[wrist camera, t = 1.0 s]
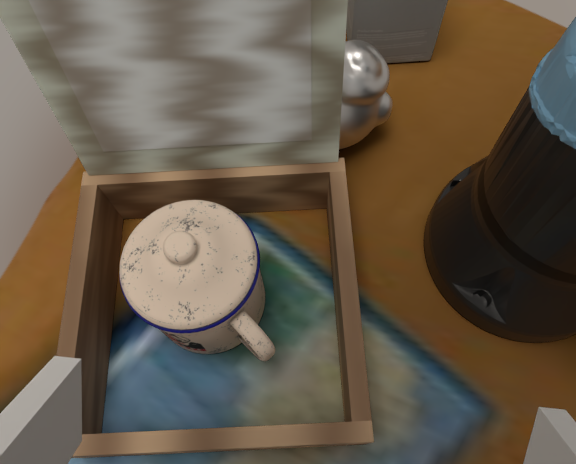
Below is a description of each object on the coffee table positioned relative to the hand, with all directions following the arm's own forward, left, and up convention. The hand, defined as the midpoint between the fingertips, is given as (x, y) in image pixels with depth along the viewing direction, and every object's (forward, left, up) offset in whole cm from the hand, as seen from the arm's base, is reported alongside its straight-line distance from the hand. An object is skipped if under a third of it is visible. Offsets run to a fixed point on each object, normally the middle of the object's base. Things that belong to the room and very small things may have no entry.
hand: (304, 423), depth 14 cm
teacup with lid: (+6, -10, -23) cm, 26 cm away
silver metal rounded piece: (-4, -27, -23) cm, 36 cm away
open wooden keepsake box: (+6, -13, -24) cm, 28 cm away
